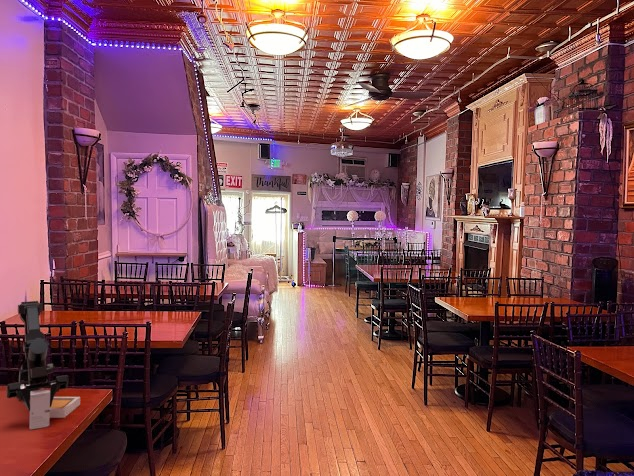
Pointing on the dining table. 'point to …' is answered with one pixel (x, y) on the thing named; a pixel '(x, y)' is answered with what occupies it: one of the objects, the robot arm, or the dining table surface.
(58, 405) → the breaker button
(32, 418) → the skincare box
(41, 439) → the dining table surface
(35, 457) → the dining table surface
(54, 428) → the dining table surface
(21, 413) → the dining table surface
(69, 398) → the shallow white square tray
